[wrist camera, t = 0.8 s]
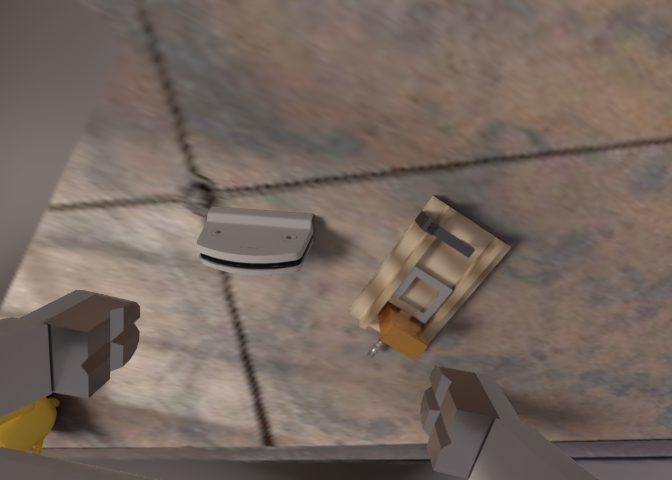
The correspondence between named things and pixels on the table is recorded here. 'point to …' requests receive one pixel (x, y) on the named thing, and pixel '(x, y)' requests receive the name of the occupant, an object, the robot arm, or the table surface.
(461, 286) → the guide board
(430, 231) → the keeper hook
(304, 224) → the grey rounded slab
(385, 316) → the chain end link
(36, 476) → the robot arm
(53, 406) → the teapot
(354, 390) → the table surface
